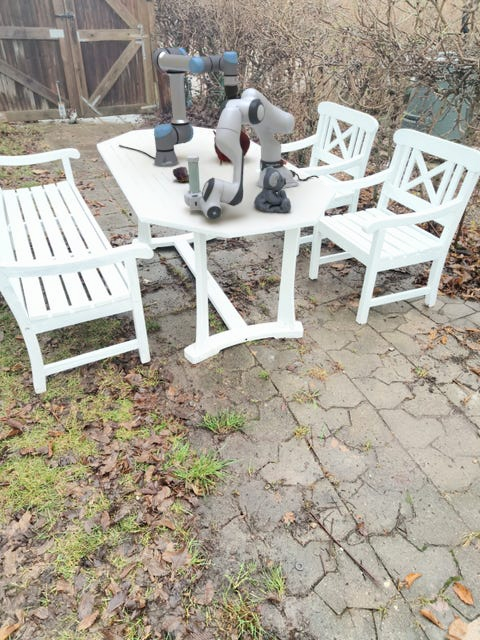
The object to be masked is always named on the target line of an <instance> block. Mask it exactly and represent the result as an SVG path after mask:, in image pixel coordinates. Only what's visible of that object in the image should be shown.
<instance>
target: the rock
mask: <svg viewBox="0 0 480 640" xmlns="http://www.w3.org/2000/svg"><path fill="white" fill-rule="evenodd" d="M172 175H173V177H174V178H175V179H176V180H177V181H178V182H179V183H180V182H181V183H182V182H189V172H188V167H186V166H178V167H176V168H173V169H172Z"/></svg>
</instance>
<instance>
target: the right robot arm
mask: <svg viewBox="0 0 480 640" xmlns="http://www.w3.org/2000/svg"><path fill="white" fill-rule="evenodd" d="M240 96H241V99H233V100H232V99H228V100H225V101H224V102H223V103H222V104H221V103H220V105H221V106H220V105H219V109H220V115H219V118H218V122H217V126H216V129H215V132H216V135H215V134H214V137H215V142H214V144H215V143H216V145H217V147H218V149H219V150H220V151H221V152H222V153H223V154H224V155H226V156H227V157H228V158H229V159H230V160H231V161H232V162H231V163H232V166H233V167H232V168H233V172H232V182H230V181H225V180H223V179H220V178H217V177H211V178H209V179H208V180H206V181H205V183H204V185H203V188H202V191H200V192H199V193H194V192H191V193H184V194H183V201H184V203H185V205H186V206H187V207H189V210H191V211H201V212H202V213H203V215H204V216H205V218H208V219H209V220H211V221H212V220H217V219H219V218H221V217H222V215H223V209H222V206H221V203H222V204H226V205H229V206H231V207H236V206H238V205H239V204H241V203H242V202H243V199H244V172H245V171H244V170H245V169H244V167H245V156H244V152H243V150H242V149H241V146H240V140H239V139H240V132H241V130H242V126H243V125H247V126H248V125H250V127H251V129H252V130H253V131H254V132H255V134H256V135H257V137H258V140H259V143H260V159H259V169H256V172H259V176H258V181H257V185H258V187H260V188H263V179H264V176H265V173H266V168H267V167H269V166H271V167H273V168H274V169H275V170H278V171H279V173H280V174H281V175H282V177H283V179H284V180H285V181H286V185H285V186H284V187H283V188H282V189H287V188H292V187H297V186H298V182H297V181H296V180H295V179H294V178H295V177H297V180H299V181H300V182H304V181H307V180H308V179H311V178H317V179H320V177H319V176H318V175H310V176H307V177H306V178H300V175H299V174H298V173H296V172H295V171H294V170H292V169H289V168H288V167H286V166H287V164H288V161H286V159H285V160H284V159H283V158H282V144H281V143H280V141H279V140H278V139H276V137H275V135H289V134H291V133H292V132H293V131H294V129H295V126H296V118H295V116H294V115H293V114H292V113H289V112H287V111H285V110H283V109H281V108H279V107H278V106H276V105H275V104H272V103H271V102H270V101H269V100H268V99H267V98H266V97H265V95H264V94H262V93H261V92H260V91H259V90H258V89H256V88H253V87H250V88H246V89H244V91H243V92H242V94H241V95H240ZM274 134H275V135H274Z"/></svg>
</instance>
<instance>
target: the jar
mask: <svg viewBox="0 0 480 640" xmlns="http://www.w3.org/2000/svg"><path fill="white" fill-rule="evenodd" d="M187 173H188V175H189V181H188V185H189V194H191V192H194V193H201V186H200V169H199V161H197V162H188V161H187Z"/></svg>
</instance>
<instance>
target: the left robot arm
mask: <svg viewBox="0 0 480 640" xmlns="http://www.w3.org/2000/svg"><path fill="white" fill-rule="evenodd" d="M151 61H152V64H153V67H154V68H155V69H157V70H158V71H160V72H166V75H167V76H168V79H169V88H170V100H171V111H172V119H171V121H170V123H161V124H158V125H156V126H155V127H154V129H153V136H154V145H155V155H154V156H152V155H150V154H149V153H147V152H145V151H143V150H141V149H137V148H132V147H129V146H125V145H121V144H118V146H119V147H121V148H125V149H130V150H132V151H136V152H140V153H142V154H144V155H147V156H148V157H150V158H151V159H154V160H153V161H154V165H155V166H157V167H163V168H164V167H165V168H167V167H168V168H169V167H174V166H177V165H178V164H179V159H178V157H177V153H176V151H175V146H176V145H181V144H187V143H188V142H191V141H192V139H193V138H194V128H193V125H192V124H191V123H190V120H189V119H188V118H187V106H186V93H185V80H184V79H185V78H184V77H185V74H186V73H188V72H189V73H192V74H193V75H195V74H196V75H200V74H205V73H215V72H223V85H224V86H223V87H224V88H223V91H224V94H225V95H222V96H221V101H220V105H219V107H220V106H221V104H222V103H223V102H224V101H225V100H228V99H232V100H233V99H241V96H242V95H241V93H240V92H239V86H238V84H239V78H238V76H239V73H238V72H239V71H238V69H239V66H238V65H239V59H238V53H237V52H236V51H224V52H223V55H217V54H213V55H209V56H208V55H207V56H193V55H189V54H188V53H187V52H186V50H185V49H184V48H183V47H180V46H179V47H176V46H175V47H162V48H158V49H156V50H154V52H153V54H152V59H151ZM218 116H220V108H219V109H218Z"/></svg>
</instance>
